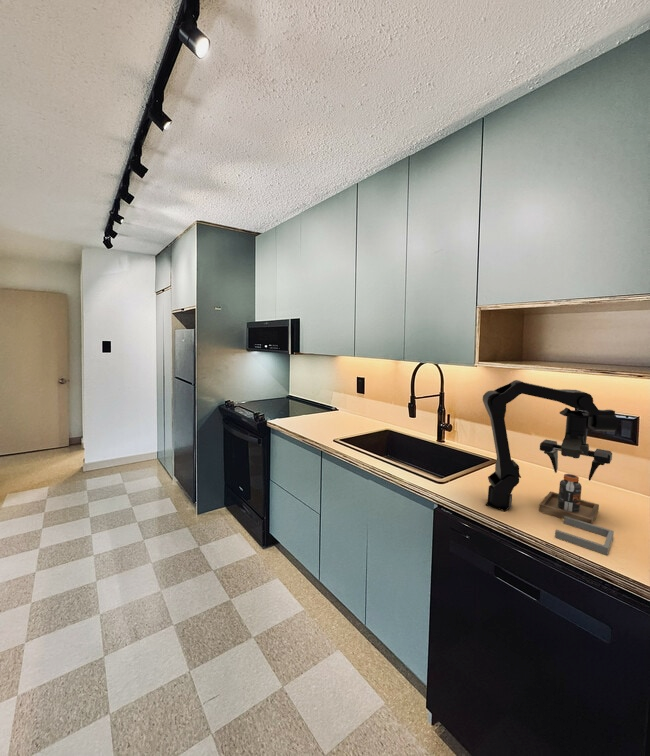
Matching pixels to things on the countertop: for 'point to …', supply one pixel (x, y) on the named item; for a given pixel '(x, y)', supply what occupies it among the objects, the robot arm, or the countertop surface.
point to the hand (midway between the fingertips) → (572, 476)
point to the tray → (551, 507)
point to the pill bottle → (569, 493)
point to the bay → (584, 542)
